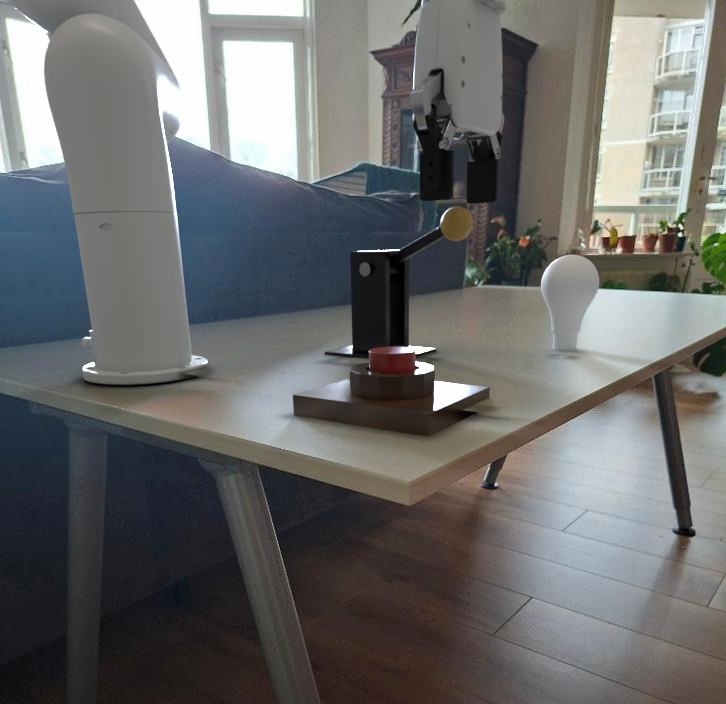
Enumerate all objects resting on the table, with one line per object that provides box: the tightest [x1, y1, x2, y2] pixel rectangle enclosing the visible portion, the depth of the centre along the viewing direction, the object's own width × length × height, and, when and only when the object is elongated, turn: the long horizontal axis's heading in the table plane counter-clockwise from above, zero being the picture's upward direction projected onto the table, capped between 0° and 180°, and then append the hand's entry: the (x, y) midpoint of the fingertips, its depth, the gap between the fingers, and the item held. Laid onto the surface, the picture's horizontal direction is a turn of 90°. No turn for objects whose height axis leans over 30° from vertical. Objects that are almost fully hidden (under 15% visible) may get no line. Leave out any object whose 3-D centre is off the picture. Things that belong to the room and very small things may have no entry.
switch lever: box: [390, 205, 474, 278], centre depth 69 cm, size 13×3×3 cm, turn 56°
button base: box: [292, 361, 491, 438], centre depth 52 cm, size 12×10×4 cm
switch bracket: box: [324, 249, 438, 360], centre depth 74 cm, size 10×8×12 cm
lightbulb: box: [540, 254, 600, 352], centre depth 74 cm, size 6×6×11 cm
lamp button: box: [368, 347, 417, 373], centre depth 51 cm, size 4×4×2 cm
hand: (460, 201), depth 65 cm, fingers open, 9 cm apart
